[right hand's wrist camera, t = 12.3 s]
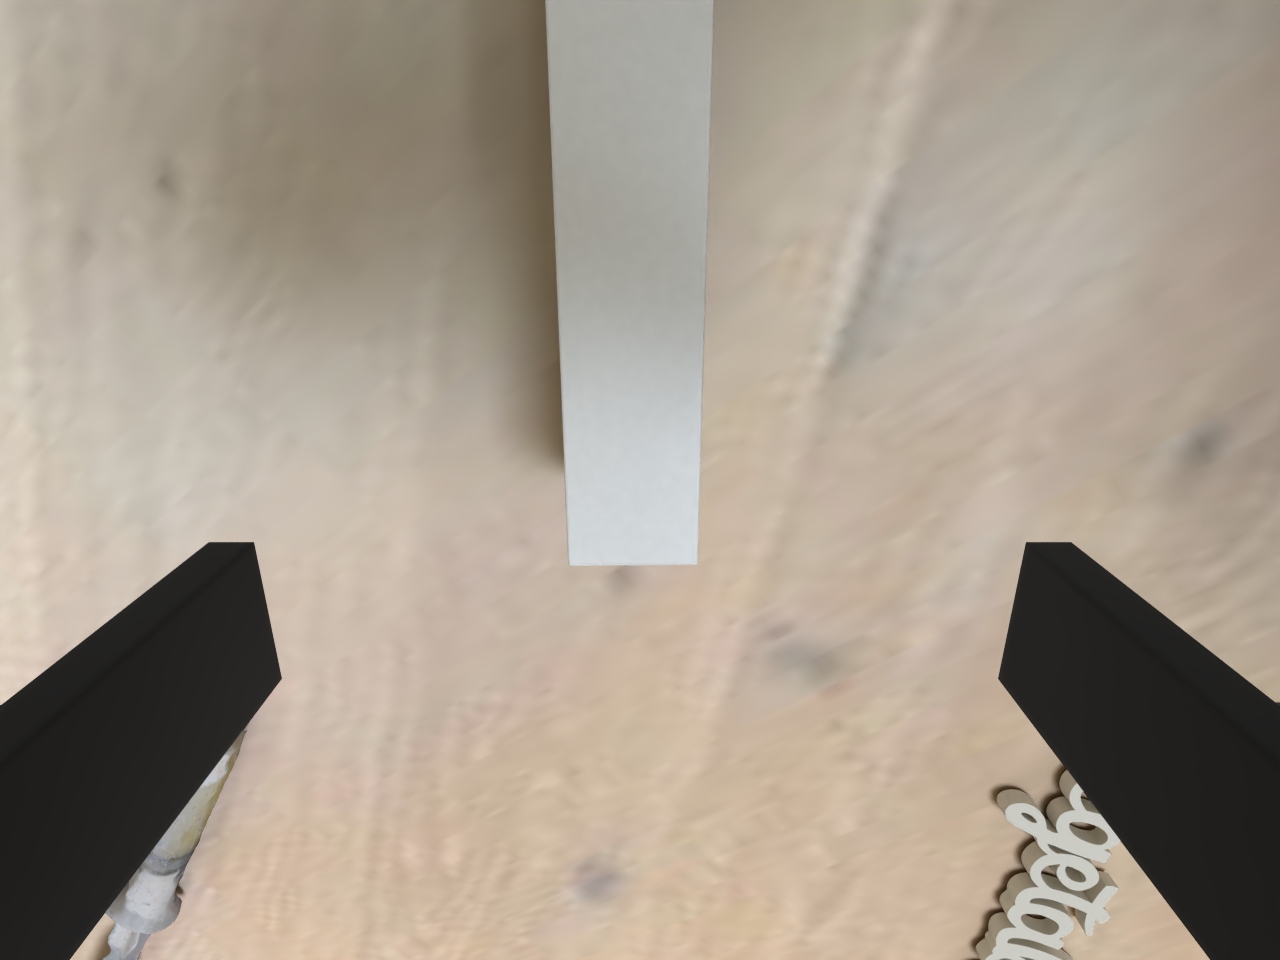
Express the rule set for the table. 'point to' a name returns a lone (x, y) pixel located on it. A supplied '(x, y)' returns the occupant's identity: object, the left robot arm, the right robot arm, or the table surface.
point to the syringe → (164, 870)
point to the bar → (631, 270)
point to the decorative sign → (1027, 947)
